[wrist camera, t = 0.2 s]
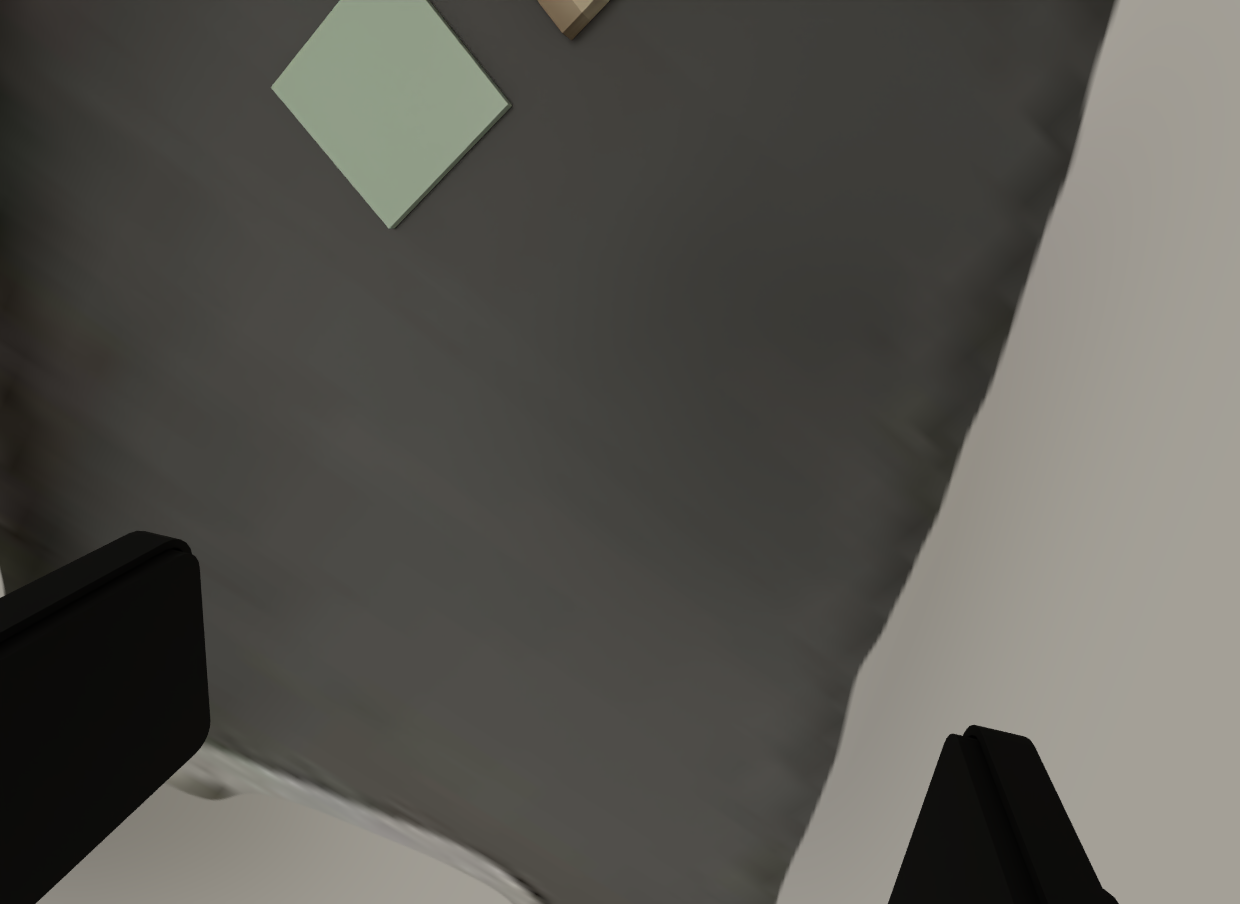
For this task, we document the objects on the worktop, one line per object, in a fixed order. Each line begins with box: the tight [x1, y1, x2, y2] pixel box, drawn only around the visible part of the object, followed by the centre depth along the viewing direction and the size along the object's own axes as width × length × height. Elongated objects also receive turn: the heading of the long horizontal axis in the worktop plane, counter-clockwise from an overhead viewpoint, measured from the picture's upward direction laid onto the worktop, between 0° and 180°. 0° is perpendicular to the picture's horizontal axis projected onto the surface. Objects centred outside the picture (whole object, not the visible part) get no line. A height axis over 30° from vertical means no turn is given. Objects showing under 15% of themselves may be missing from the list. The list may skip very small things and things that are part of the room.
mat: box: [271, 0, 512, 229], centre depth 37 cm, size 9×9×1 cm
